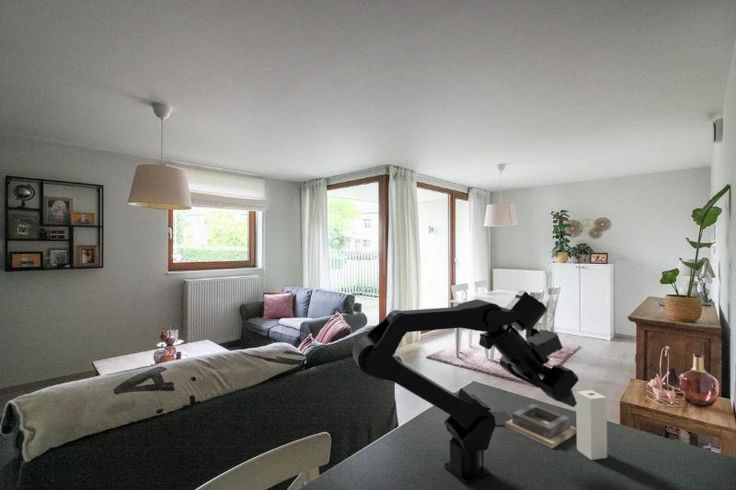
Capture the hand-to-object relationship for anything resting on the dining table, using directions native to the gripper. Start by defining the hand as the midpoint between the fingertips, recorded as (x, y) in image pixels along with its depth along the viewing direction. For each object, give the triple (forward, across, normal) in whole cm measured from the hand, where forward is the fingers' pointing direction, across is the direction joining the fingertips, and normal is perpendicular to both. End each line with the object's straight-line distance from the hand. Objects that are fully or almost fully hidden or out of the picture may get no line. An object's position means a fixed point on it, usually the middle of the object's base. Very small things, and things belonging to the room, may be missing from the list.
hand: (558, 395), depth 76 cm
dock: (+12, +11, +6) cm, 18 cm away
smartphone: (+5, +19, +15) cm, 24 cm away
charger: (+15, 0, +3) cm, 16 cm away
